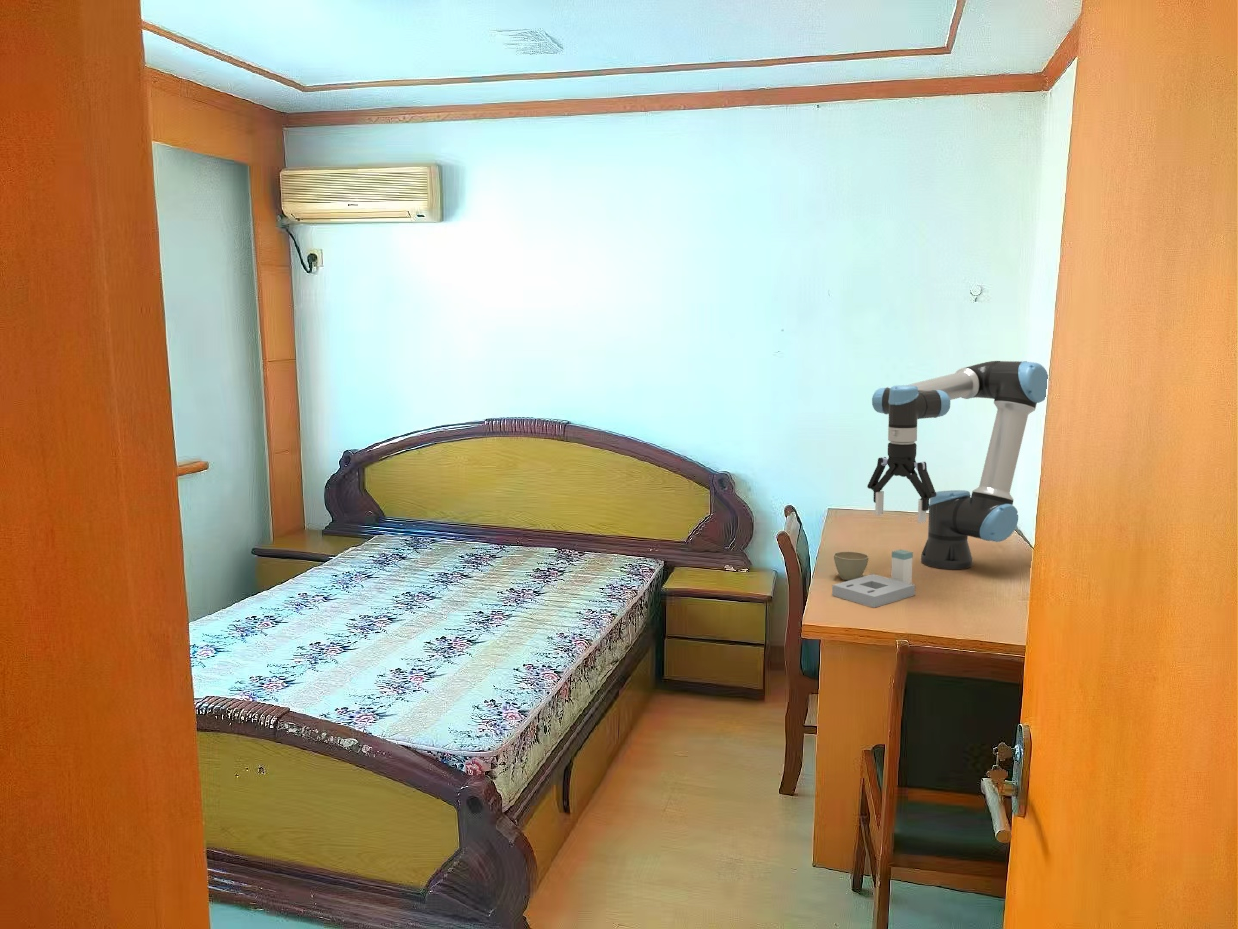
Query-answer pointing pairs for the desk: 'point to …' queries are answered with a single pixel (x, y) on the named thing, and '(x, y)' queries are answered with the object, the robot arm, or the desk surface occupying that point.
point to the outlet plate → (873, 590)
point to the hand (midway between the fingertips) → (900, 518)
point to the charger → (902, 566)
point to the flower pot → (850, 564)
